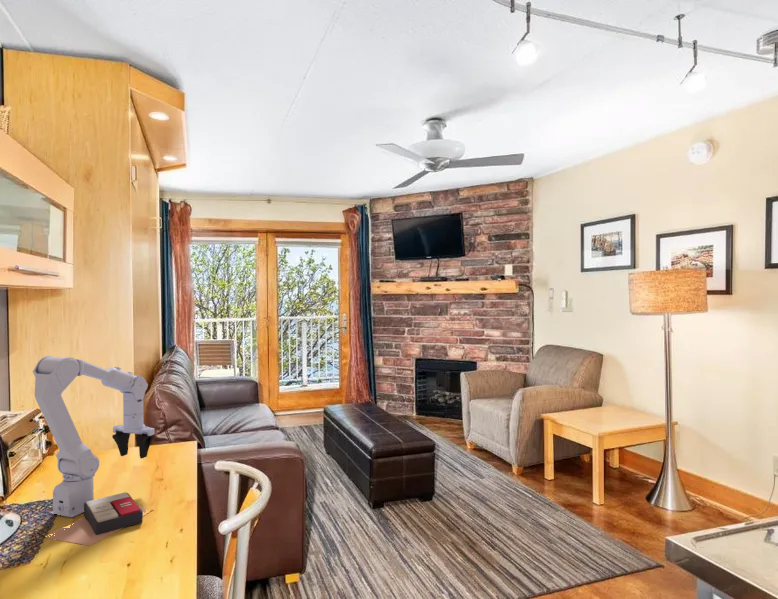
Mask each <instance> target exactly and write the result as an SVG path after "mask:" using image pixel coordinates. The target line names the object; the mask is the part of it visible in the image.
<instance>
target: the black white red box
mask: <svg viewBox="0 0 778 599" xmlns="http://www.w3.org/2000/svg"><path fill="white" fill-rule="evenodd" d="M140 508H141V507H140V506H139V505H138V504H137V503H136V501H135V500H134V499H133V497H132V496H131V495H130V494H129V493H128V492H127V491H125V492H122V493H117V494H114V495H113V494H112V495H109V496H108V495H107V496H104V497H100V498H96V499H94V500H91V501H87V502H85V503H84V512H83V517H85V518H86V520H88V522H89V524H90V525H91V527H92V529H93V531H94V533H95V534H96V535H99V534H103V533H106V532H110V531H113V530H117V529H120V528H122V529H124V528H126V527H127V528H128V527H131V526H133V525H137V524H141V522H142V523H143V517H144V516H143V511H142V510H141V509H140ZM120 530H121V529H120Z"/></svg>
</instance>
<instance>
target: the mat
mask: <svg viewBox="0 0 778 599" xmlns="http://www.w3.org/2000/svg"><path fill="white" fill-rule="evenodd" d="M139 508H140V509H141V510H142V511H143V512H144V513H145V512H146V509H147V510H149V509H150V508H146V507H139ZM73 522H74V524H73V525H72V524H71V523H70V524H71V526H70V528H62V527H61V528H58V529H59V530H58V529H57V530H54V531H55V532H54V531H52V532H50V533H49V534H51V533H52V534H53V535H52V536H51V535H49V536H50V537H49V536H48V534H46V535H47V537H46V538H45V539H47V538H49V540H53V539H56V540H55V541H59V540H61V541H60V542H64V541H66V542H65V543H70V542H71V543H70V544H74V545H75V544H76V545H81V544H82V546H88V547H91V546H93V545H94V544H96V543H98V542H100V541H101V539H102V540H104V539H106V538H107V537H109V536H111V535H112V534H114V533H116V532H117V531H119V530H121V528H120V529H117V530H113V531H110V532H106V533H103V534H99V535H96V534H95V533H94V531H93V529H92V527H91V525H90V524H89V522H88V520H86V518H85V517H84V516H83V517H81V518H79V519H77V520H75V521H73ZM64 529H65V530H64ZM54 533H55V534H54ZM54 535H55V536H54ZM92 544H93V545H92ZM90 545H91V546H90Z"/></svg>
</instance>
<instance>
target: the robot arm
mask: <svg viewBox="0 0 778 599" xmlns="http://www.w3.org/2000/svg"><path fill="white" fill-rule="evenodd" d="M32 373H33V375H34V378H35V379H34V380H35V381H34V398H35V401H36V402H37V406H38V407H39V409H40V411H41V413H42V415H43V417H44V420H45V422H46V424H47V427H48V428H49V431H50V432H51V434H52V437H53V438H54V441H55V443H56V445H57V447H58V449H59V450H58V451H57V453H56V455H55V457H56V459H57V470H58V472H60V473H61V474H62V478H63V480H62V481H61V482H60V483H59V484H57V485H55V486H54V488H53V490H52V511H51V512H50V514H51V513H52V514H51V515H54V514H57V515H56V516H60V515H61V516H62V517H68V518H74V517H76V516H79V515H80V514H84V503H85V502H87V501H91V500H95V499H94V493H95V492H94V489H95V488H94V477H95V476H96V473H97V472H98V470H99V467H100V458H99V457H98V456H97V455H95V454H93V451H92V450H91V448H90V447H88V446H87V445H86V444H85V443H83V442H82V439H81V437H80V435H79V433H78V430H77V428H76V426H75V424H74V421H73V420H72V417H71V415H70V412H69V410H68V408H67V406H66V404H65V402H64V399H63V397H62V394H63V392H64V391H65V390H66V389H67V388H68V387H69V386H70V385H71V383H72V382H73V381H74V380H75V379H76V378H77V377H82V376H85V377H89V378H93V379H95V380H100V381H101V384H102V385H103V386H104V387H107V388H110V389H113V390H114V389H115V390H116V391H119V392H120V393H122V394H123V395H122V402H123V404H122V406H123V407H122V409H123V410H122V416H123V418H122V420H123V421H122V425H121V424H117V425H113V426H112V433H115V434H112V436H111V438H112V439H113V440H114V442H115V444H116V446H117V448H118V451H119V456H120V457H124V456H126V455H128V453H129V442H130V441H129V440H130V437H131V434H133V435H135V434H136V435H139V436H136V441H137V444H138V448H139V449H138V451H139V458H140V459H144V458H147V457H148V453H149V449H150V446H151V444H152V441H153V440H154V438H155V437H156V436H155V432H156V431H155V428H154V427H149V426H146V424H144V411H145V410H144V399H145V396H146V395H145V394H146V391H147V389H148V386H149V383H148V382H147V380H146V378H144V377H143V376H142V375H134V373H133V372H132V371H127V372H126V371H124V370H122V368H121V367H119V366H113V367H109V368H107V369H105V368H103V367H101V366H98V365H95V364H93V363H90V362H88V361H85V360H83V359H77V358H74V357H60V356H59V357H57V356H51V355H48V356H47V355H46V356H44V357H42V358H40V359H39V360H38V362H37V363H36V364H35V367H34V368H33V370H32ZM61 516H60V517H61Z"/></svg>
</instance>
